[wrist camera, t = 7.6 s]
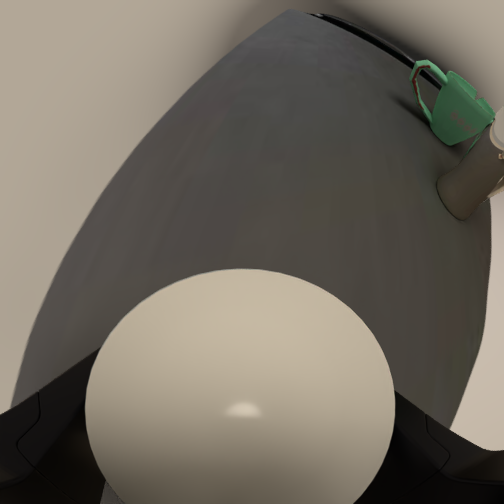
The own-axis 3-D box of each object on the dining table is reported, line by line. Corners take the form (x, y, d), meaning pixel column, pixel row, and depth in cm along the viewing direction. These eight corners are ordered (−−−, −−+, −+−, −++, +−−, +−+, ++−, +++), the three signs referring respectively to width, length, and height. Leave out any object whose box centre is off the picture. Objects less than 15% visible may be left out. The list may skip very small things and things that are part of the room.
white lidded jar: (280, 432, 12) (394, 505, 3) (167, 440, 11) (117, 546, 2) (270, 327, 15) (376, 262, 6) (158, 331, 14) (83, 268, 4)
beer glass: (474, 231, 25) (557, 166, 11) (439, 212, 24) (530, 129, 11) (463, 187, 28) (530, 121, 14) (428, 166, 27) (499, 86, 14)
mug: (457, 135, 34) (487, 100, 25) (466, 169, 30) (504, 130, 21) (392, 88, 34) (418, 45, 25) (391, 113, 30) (425, 62, 21)
